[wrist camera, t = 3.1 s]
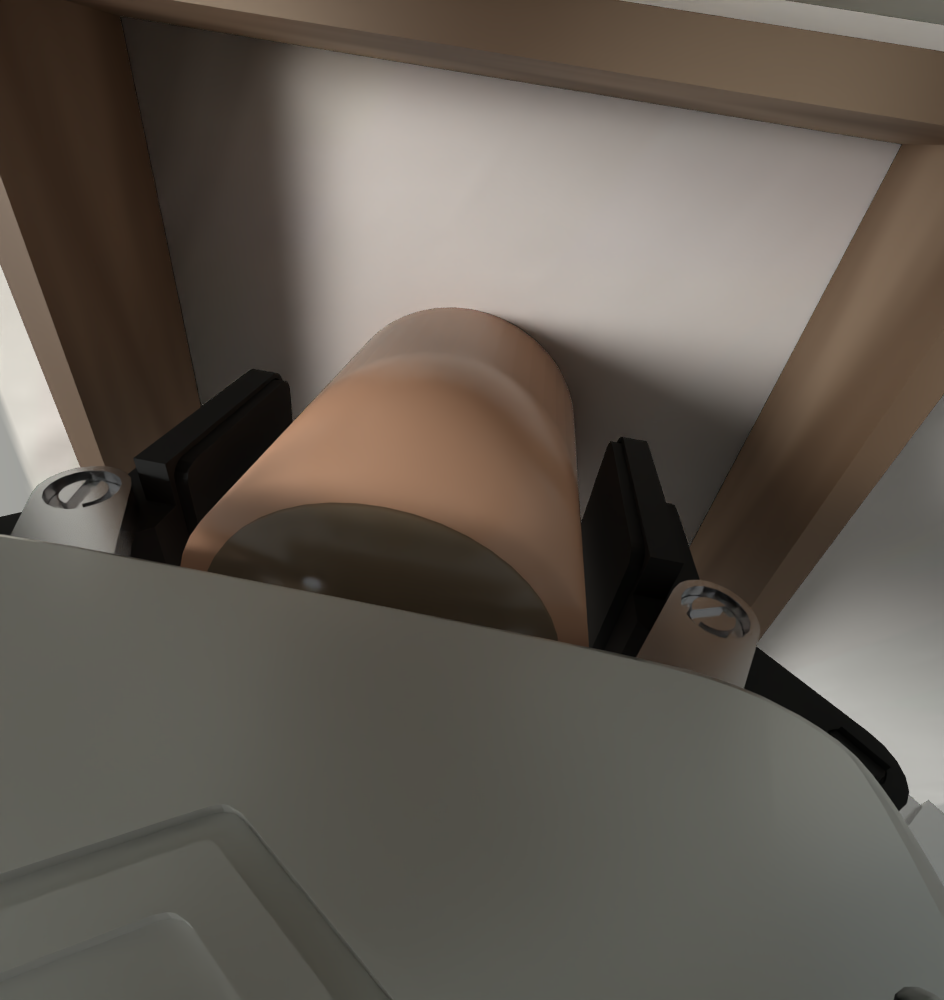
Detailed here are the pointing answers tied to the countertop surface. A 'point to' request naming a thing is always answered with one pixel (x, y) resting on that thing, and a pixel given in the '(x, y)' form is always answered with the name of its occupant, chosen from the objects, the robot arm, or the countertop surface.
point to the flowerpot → (422, 484)
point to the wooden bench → (525, 58)
